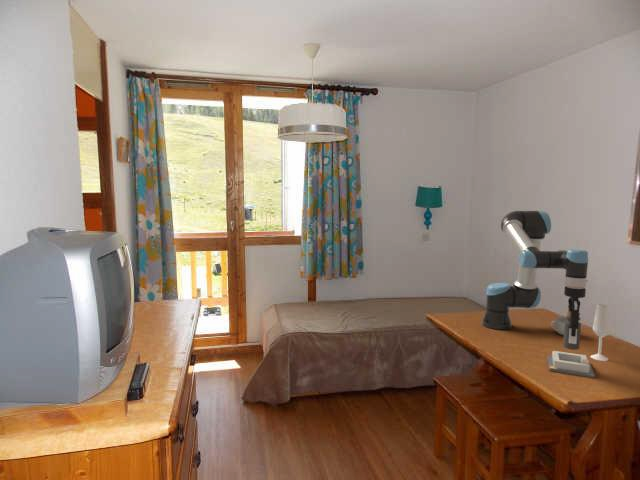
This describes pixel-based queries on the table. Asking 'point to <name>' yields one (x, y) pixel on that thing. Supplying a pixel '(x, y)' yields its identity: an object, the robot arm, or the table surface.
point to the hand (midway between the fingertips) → (571, 340)
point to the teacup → (559, 324)
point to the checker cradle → (570, 364)
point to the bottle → (566, 334)
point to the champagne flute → (601, 327)
